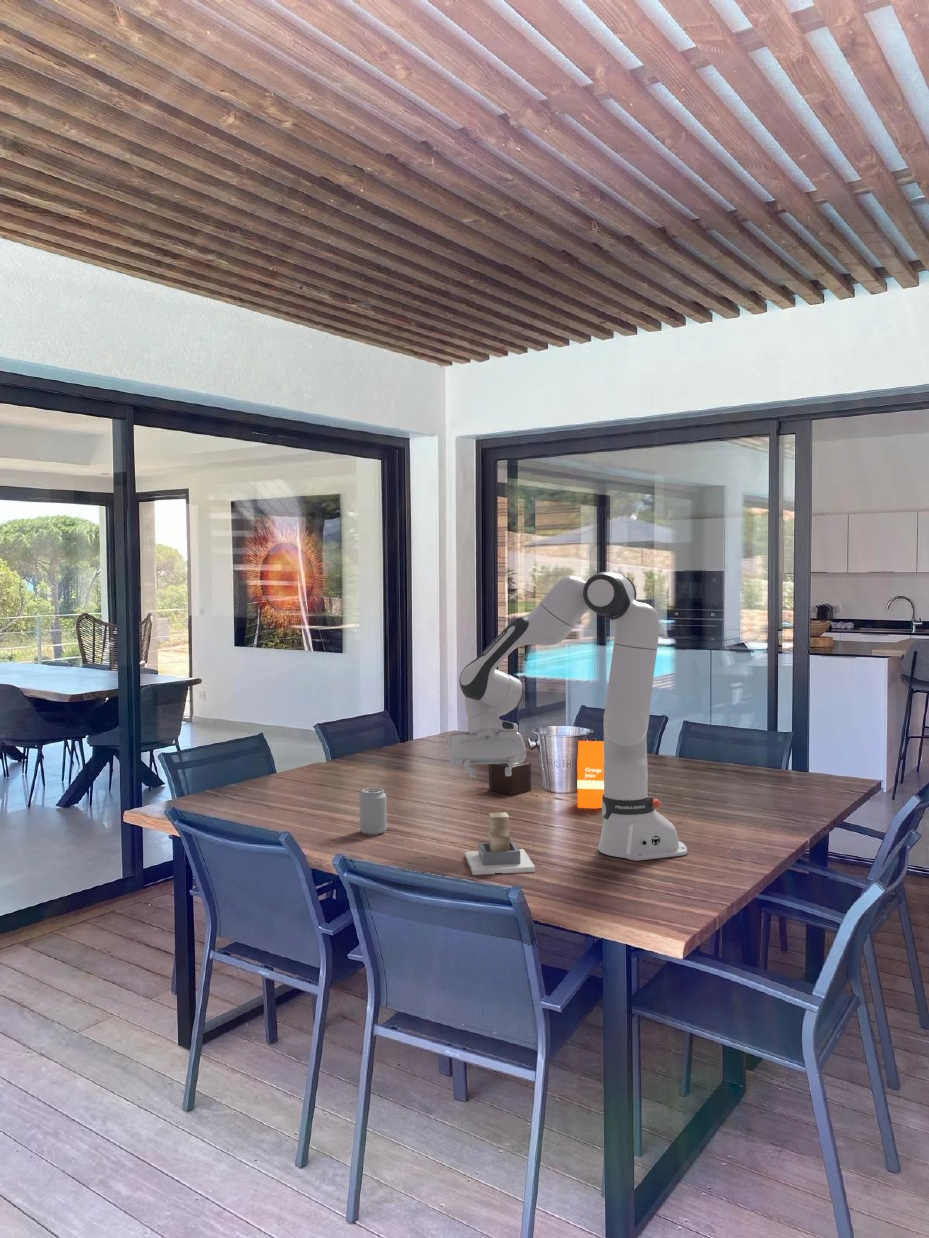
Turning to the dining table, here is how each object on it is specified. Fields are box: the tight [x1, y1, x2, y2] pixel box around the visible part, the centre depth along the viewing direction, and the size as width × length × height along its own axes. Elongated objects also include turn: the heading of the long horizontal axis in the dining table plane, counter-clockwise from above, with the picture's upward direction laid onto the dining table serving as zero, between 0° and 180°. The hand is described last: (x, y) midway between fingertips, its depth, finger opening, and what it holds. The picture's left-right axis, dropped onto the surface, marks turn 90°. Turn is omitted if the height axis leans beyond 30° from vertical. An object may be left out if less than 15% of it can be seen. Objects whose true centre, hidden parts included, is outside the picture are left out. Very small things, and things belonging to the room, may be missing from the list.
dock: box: [464, 840, 536, 876], centre depth 228 cm, size 15×15×4 cm
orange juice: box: [576, 740, 604, 809], centre depth 286 cm, size 8×9×20 cm
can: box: [359, 787, 388, 836], centre depth 258 cm, size 8×8×12 cm
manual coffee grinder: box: [488, 761, 532, 796], centre depth 309 cm, size 16×11×18 cm
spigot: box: [488, 812, 511, 852], centre depth 228 cm, size 4×4×11 cm
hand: (490, 775), depth 239 cm, fingers open, 8 cm apart
